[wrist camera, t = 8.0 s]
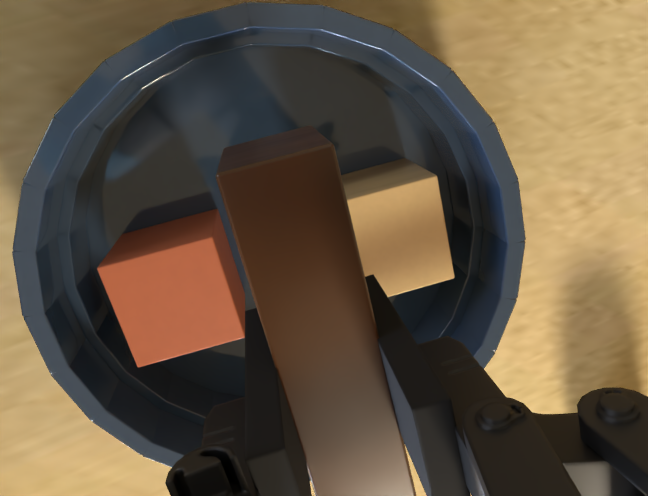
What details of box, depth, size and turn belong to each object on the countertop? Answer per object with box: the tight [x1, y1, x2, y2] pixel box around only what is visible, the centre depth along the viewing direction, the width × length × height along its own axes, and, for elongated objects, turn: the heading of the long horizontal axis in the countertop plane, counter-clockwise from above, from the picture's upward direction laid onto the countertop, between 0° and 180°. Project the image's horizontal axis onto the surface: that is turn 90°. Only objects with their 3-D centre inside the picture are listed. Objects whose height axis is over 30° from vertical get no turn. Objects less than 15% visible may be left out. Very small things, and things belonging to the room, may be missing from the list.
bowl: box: [12, 2, 525, 481], centre depth 24 cm, size 20×20×6 cm
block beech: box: [341, 158, 455, 297], centre depth 24 cm, size 4×4×4 cm
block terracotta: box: [97, 209, 245, 367], centre depth 24 cm, size 4×4×4 cm
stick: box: [216, 126, 416, 496], centre depth 15 cm, size 12×2×4 cm, turn 13°
